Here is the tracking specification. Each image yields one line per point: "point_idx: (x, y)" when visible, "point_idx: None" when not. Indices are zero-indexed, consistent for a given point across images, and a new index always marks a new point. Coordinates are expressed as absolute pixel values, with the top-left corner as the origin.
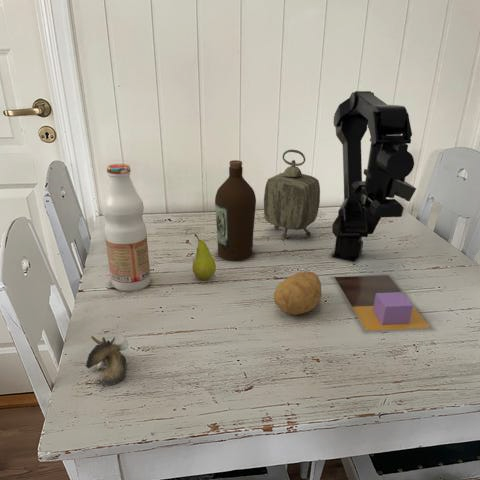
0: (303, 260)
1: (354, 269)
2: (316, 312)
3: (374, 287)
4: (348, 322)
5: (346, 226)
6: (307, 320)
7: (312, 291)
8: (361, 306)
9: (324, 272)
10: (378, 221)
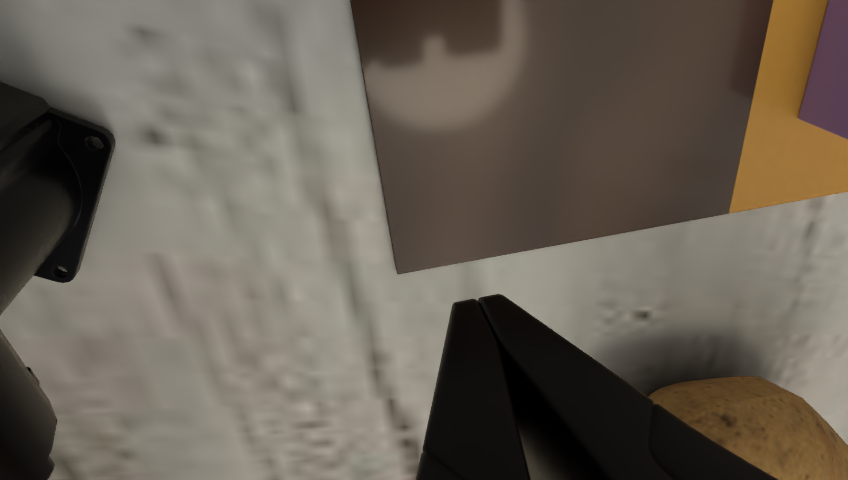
0: (181, 410)
1: (247, 143)
2: (723, 345)
3: (539, 53)
4: (836, 237)
5: (47, 454)
6: (768, 371)
7: (845, 463)
8: (740, 169)
9: (328, 316)
10: (679, 423)
